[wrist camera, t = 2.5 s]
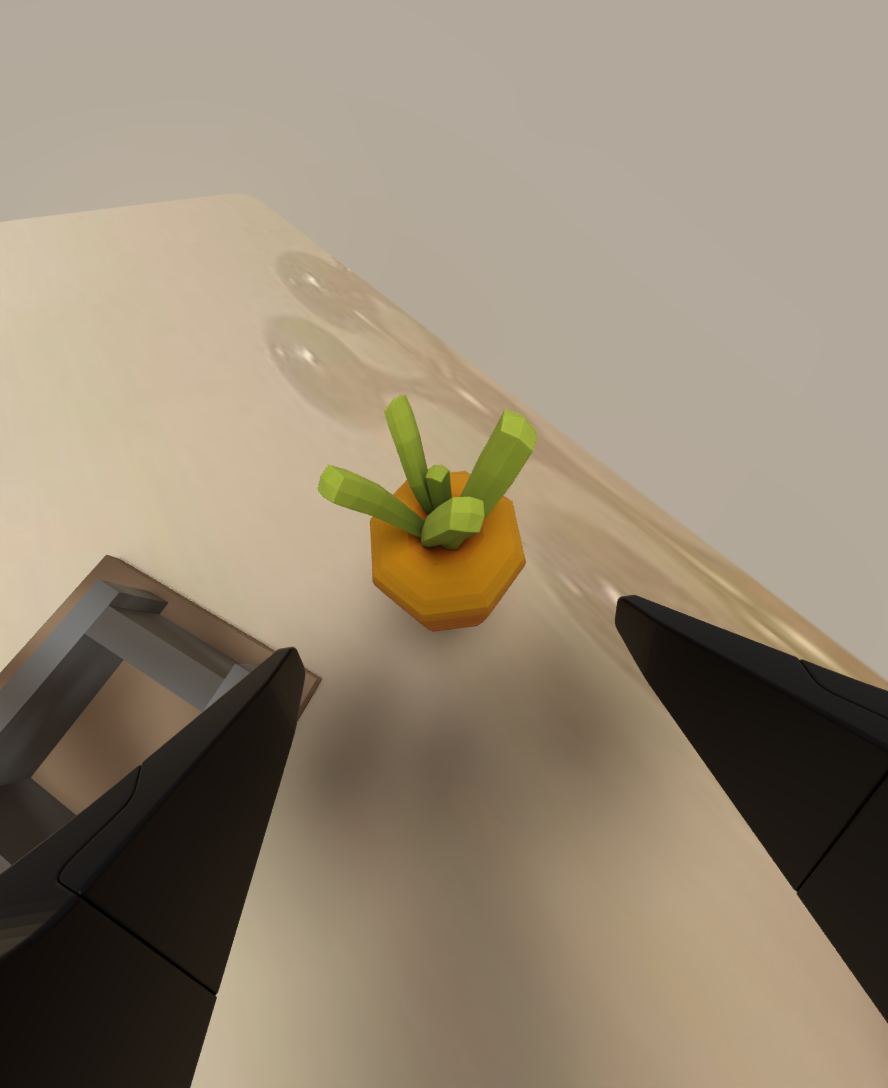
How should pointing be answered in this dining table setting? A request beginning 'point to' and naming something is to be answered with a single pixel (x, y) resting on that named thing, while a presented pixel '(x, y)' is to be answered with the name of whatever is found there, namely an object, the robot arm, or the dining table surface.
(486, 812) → the dining table surface
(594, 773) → the dining table surface
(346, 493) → the carrot
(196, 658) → the grey frame on base
